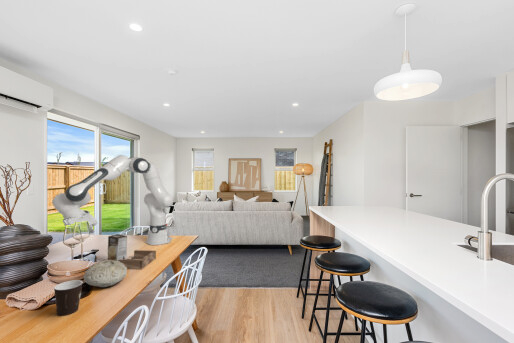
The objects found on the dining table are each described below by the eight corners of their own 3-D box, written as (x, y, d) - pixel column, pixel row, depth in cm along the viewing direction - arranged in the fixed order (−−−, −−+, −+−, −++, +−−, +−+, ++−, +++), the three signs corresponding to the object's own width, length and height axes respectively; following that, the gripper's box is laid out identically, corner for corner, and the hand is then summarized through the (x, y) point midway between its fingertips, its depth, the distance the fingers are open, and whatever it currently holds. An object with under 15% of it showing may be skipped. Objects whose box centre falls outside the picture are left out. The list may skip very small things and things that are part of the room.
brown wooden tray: (125, 259, 156) (125, 250, 156) (155, 260, 155) (155, 250, 155) (107, 270, 137) (107, 259, 137) (141, 271, 137) (141, 260, 137)
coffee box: (106, 263, 145) (107, 236, 146) (116, 260, 151) (117, 233, 152) (117, 265, 142) (117, 237, 142) (127, 262, 147) (127, 235, 148)
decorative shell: (135, 278, 125) (135, 258, 125) (105, 294, 107) (106, 271, 108) (106, 274, 129) (106, 255, 129) (73, 289, 112) (74, 267, 112)
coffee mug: (63, 305, 98) (64, 280, 98) (86, 305, 98) (87, 279, 99) (40, 323, 86) (41, 294, 86) (66, 322, 87) (67, 293, 87)
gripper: (65, 215, 137) (82, 233, 137) (90, 210, 157) (105, 226, 157) (56, 223, 137) (73, 241, 137) (83, 217, 157) (97, 233, 157)
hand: (90, 233), depth 147 cm, fingers open, 3 cm apart
